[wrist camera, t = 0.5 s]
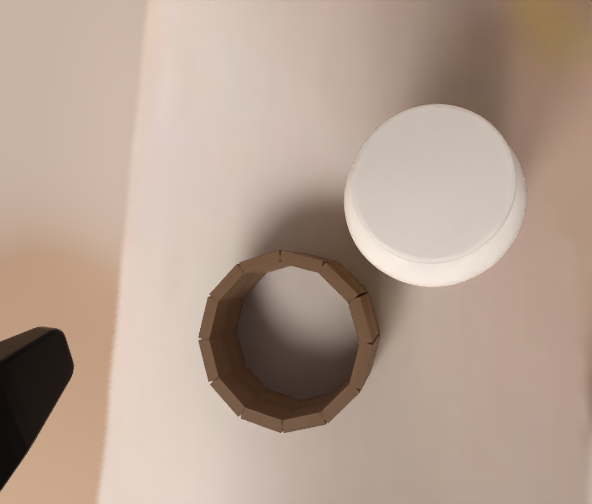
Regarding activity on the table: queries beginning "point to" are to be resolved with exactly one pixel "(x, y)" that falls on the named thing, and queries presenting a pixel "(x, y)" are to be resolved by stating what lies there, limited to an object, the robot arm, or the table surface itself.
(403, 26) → the table surface
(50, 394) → the robot arm
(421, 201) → the supplement bottle
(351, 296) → the holder
